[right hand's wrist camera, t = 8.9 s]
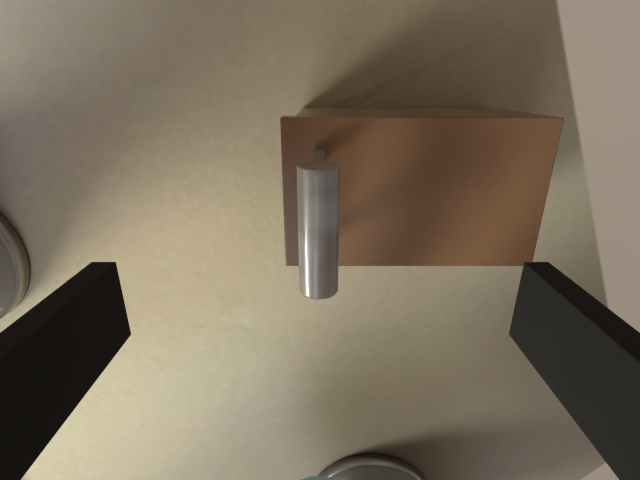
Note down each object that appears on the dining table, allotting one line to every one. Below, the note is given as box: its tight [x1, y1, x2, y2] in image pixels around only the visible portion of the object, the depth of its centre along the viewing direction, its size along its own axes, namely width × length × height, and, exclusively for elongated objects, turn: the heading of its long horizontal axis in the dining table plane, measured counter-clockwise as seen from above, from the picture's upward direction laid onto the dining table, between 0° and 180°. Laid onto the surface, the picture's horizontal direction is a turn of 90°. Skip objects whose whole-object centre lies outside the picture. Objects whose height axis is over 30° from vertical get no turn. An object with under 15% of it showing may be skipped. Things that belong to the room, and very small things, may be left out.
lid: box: [280, 116, 564, 299], centre depth 22 cm, size 17×10×8 cm, turn 90°
